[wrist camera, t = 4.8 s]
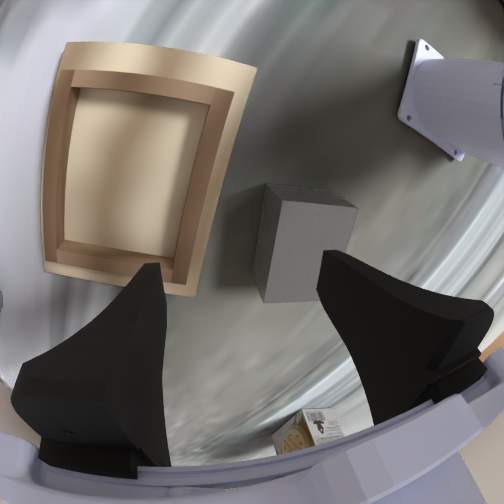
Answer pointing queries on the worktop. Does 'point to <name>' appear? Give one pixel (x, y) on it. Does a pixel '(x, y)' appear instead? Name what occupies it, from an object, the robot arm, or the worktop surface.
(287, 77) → the worktop surface
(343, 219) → the block
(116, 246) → the tray
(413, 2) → the worktop surface
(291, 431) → the coffee box
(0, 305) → the blender
